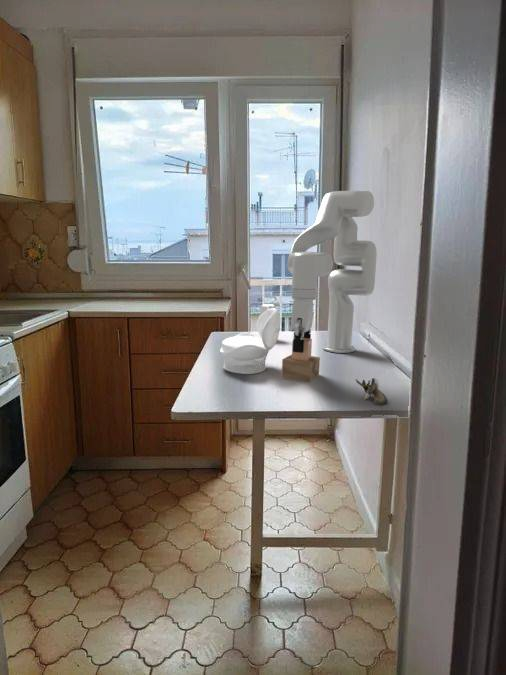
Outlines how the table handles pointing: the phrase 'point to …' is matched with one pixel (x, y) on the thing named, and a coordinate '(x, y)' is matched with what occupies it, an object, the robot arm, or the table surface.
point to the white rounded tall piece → (266, 307)
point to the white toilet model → (252, 345)
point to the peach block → (307, 351)
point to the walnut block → (300, 368)
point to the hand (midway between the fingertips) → (301, 348)
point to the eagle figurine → (373, 391)
